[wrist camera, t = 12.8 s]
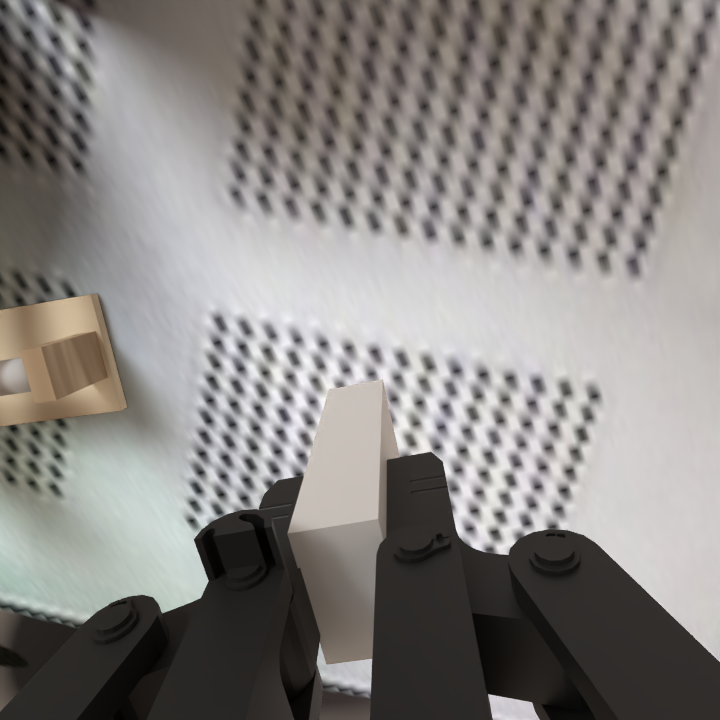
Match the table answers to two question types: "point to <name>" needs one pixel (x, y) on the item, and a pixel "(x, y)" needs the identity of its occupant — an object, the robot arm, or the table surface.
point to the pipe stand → (56, 362)
